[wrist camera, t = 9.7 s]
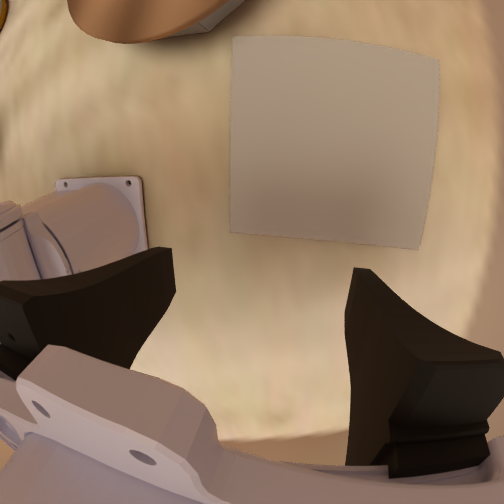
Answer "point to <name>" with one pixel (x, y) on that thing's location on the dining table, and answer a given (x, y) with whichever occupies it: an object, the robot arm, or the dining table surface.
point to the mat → (331, 140)
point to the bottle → (2, 12)
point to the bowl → (210, 19)
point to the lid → (138, 17)
